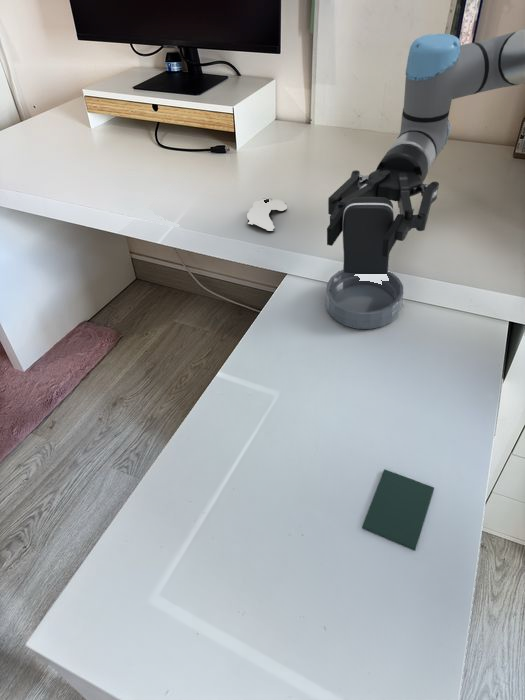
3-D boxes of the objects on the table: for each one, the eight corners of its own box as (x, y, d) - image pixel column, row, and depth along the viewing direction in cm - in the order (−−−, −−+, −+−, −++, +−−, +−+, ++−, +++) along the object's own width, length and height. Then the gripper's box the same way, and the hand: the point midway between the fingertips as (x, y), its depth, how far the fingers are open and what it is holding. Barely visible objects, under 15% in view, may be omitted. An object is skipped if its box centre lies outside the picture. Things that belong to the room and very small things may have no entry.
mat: (433, 489, 59) (434, 487, 59) (415, 550, 55) (415, 549, 54) (384, 470, 62) (384, 469, 61) (361, 528, 57) (362, 526, 57)
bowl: (410, 291, 84) (412, 274, 81) (387, 338, 77) (389, 321, 74) (342, 275, 88) (342, 259, 86) (315, 319, 81) (314, 302, 79)
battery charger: (389, 260, 78) (395, 192, 69) (389, 275, 75) (395, 207, 67) (343, 259, 79) (344, 192, 71) (341, 274, 76) (342, 207, 68)
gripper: (465, 196, 81) (427, 280, 67) (346, 179, 89) (291, 251, 75) (474, 151, 76) (436, 232, 62) (347, 136, 83) (288, 205, 70)
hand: (356, 242), depth 69 cm, fingers closed on battery charger, 7 cm apart
